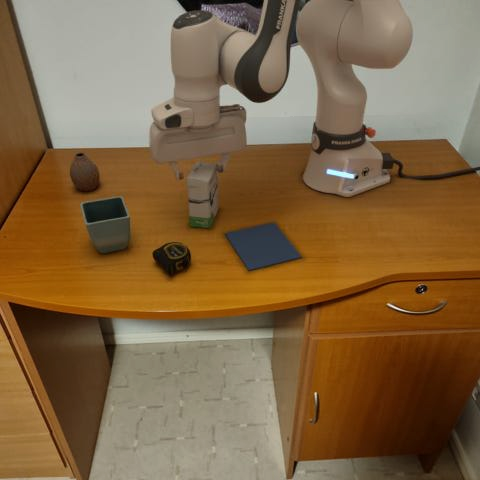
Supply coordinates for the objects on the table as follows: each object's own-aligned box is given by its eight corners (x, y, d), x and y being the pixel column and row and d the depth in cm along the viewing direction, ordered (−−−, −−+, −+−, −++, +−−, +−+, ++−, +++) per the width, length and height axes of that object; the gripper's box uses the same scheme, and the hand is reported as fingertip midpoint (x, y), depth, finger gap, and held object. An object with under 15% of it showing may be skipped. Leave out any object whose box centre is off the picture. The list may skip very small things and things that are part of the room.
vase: (68, 191, 120) (59, 158, 114) (84, 178, 125) (76, 146, 119) (91, 196, 118) (83, 163, 112) (107, 183, 123) (100, 150, 117)
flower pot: (128, 230, 108) (122, 194, 102) (136, 252, 102) (130, 216, 96) (89, 238, 106) (79, 202, 99) (94, 261, 100) (85, 224, 94)
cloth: (273, 223, 110) (273, 221, 110) (301, 258, 101) (301, 256, 101) (224, 234, 107) (224, 233, 107) (248, 271, 98) (248, 269, 97)
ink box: (210, 229, 108) (208, 181, 100) (189, 226, 109) (185, 178, 101) (219, 209, 114) (217, 162, 106) (199, 206, 115) (196, 159, 107)
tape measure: (152, 262, 100) (149, 247, 97) (181, 251, 102) (179, 236, 100) (168, 280, 96) (165, 265, 93) (197, 267, 98) (196, 253, 96)
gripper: (240, 97, 99) (239, 161, 109) (143, 110, 94) (151, 176, 103) (252, 108, 95) (250, 173, 105) (151, 122, 89) (158, 189, 99)
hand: (200, 174), depth 104 cm, fingers open, 8 cm apart
